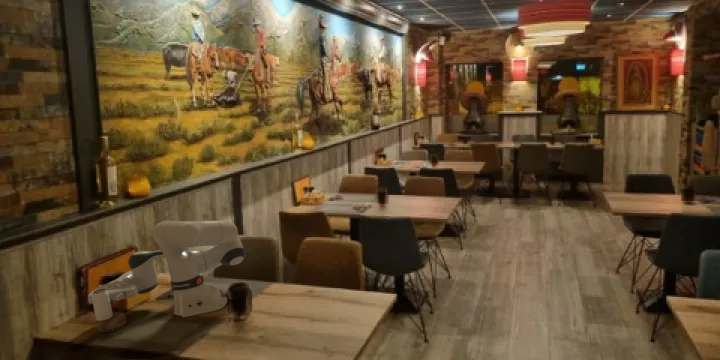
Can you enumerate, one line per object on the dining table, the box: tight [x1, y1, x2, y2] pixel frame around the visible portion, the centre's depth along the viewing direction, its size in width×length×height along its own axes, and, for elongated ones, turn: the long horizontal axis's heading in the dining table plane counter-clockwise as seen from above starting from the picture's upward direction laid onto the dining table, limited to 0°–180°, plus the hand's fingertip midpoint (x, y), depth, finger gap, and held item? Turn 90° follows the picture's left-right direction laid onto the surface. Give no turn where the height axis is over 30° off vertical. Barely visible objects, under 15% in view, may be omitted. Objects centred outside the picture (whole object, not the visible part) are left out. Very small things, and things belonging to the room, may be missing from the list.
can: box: [91, 289, 114, 322], centre depth 238 cm, size 6×6×12 cm
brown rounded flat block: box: [96, 312, 127, 333], centre depth 239 cm, size 11×11×4 cm
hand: (105, 300), depth 236 cm, fingers open, 7 cm apart
